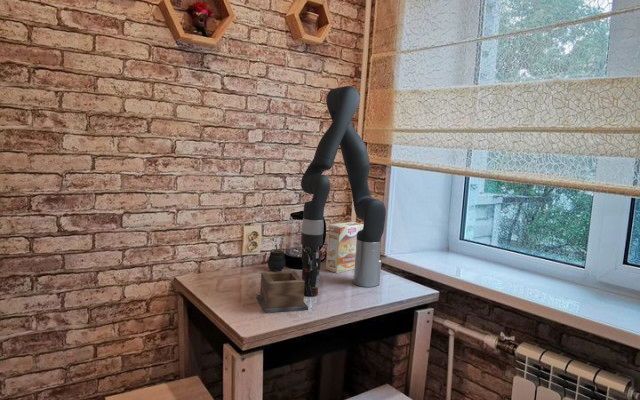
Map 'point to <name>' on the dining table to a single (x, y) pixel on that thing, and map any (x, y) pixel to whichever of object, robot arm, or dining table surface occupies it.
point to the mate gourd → (276, 260)
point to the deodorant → (309, 286)
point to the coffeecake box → (342, 246)
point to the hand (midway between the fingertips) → (309, 276)
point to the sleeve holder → (281, 292)
